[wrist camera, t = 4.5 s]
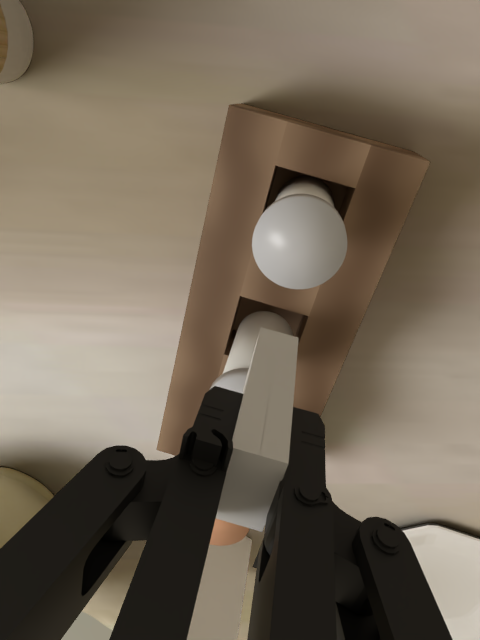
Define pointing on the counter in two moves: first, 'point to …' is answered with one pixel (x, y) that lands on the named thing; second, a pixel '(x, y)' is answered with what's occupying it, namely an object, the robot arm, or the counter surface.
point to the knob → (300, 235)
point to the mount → (248, 280)
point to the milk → (221, 592)
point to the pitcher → (19, 501)
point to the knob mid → (247, 348)
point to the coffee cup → (14, 40)
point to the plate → (451, 574)
